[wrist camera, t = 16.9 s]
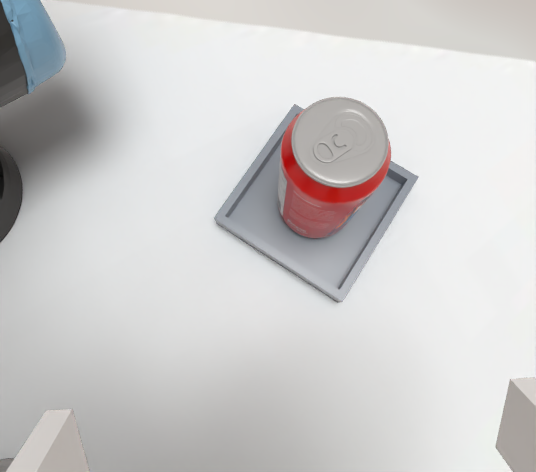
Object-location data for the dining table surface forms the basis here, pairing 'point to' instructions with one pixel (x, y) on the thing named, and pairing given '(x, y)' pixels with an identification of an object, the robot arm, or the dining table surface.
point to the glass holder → (5, 464)
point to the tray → (303, 248)
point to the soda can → (330, 165)
